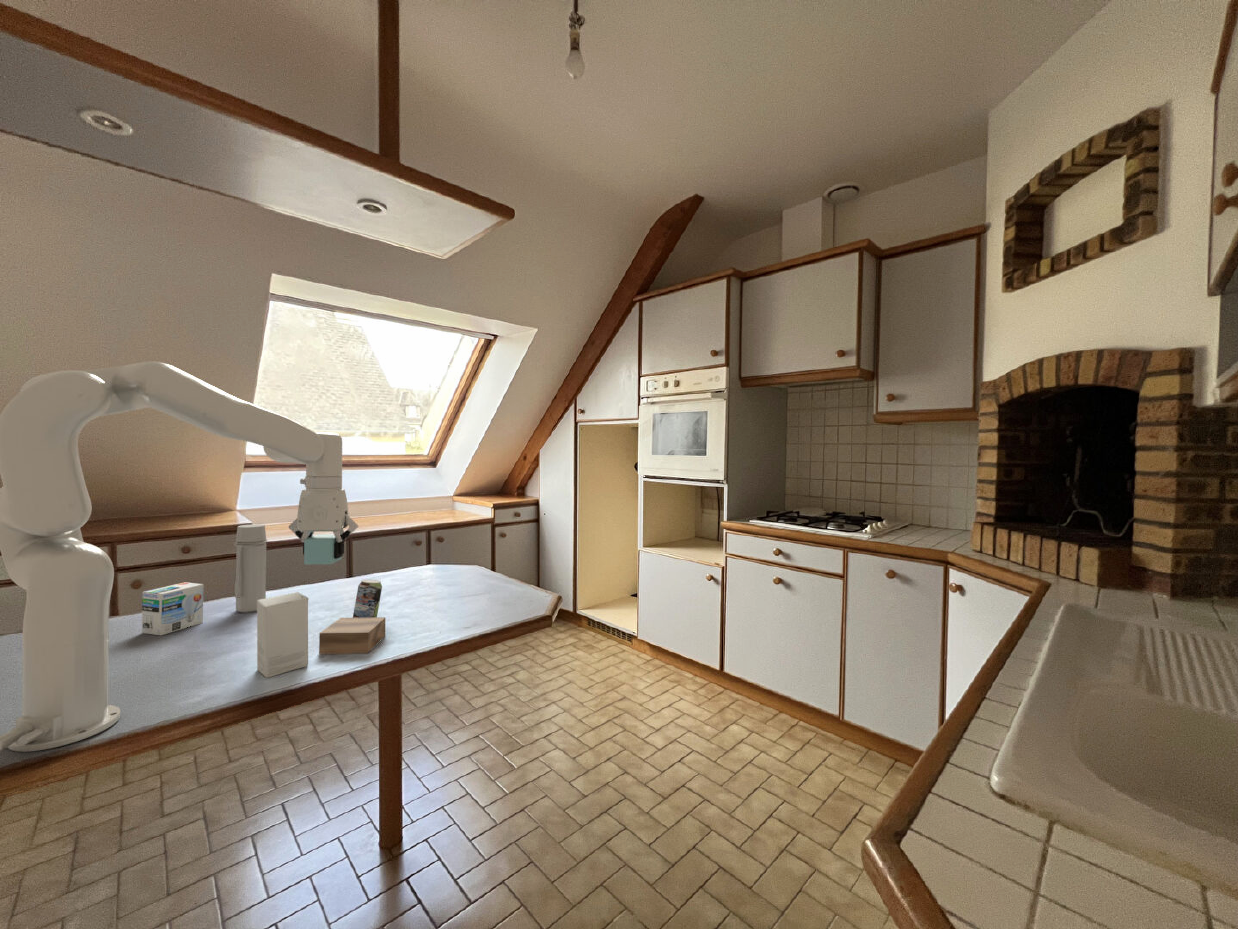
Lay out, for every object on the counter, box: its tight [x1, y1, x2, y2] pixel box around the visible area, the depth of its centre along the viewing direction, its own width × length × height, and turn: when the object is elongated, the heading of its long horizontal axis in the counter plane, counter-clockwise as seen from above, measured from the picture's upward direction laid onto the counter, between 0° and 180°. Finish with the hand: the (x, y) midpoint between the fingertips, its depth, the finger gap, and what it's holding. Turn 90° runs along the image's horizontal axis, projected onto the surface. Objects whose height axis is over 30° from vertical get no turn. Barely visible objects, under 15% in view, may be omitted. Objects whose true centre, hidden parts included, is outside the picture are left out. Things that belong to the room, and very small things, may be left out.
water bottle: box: [233, 523, 268, 614], centre depth 144 cm, size 9×8×25 cm
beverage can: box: [352, 579, 383, 618], centre depth 137 cm, size 6×7×12 cm
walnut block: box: [318, 616, 386, 655], centre depth 121 cm, size 11×11×5 cm
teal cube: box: [303, 534, 343, 566], centre depth 119 cm, size 6×6×6 cm
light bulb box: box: [141, 581, 205, 636], centre depth 129 cm, size 11×7×11 cm, turn 168°
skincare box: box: [256, 591, 309, 679], centre depth 107 cm, size 8×7×16 cm
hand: (323, 556), depth 119 cm, fingers closed on teal cube, 6 cm apart
